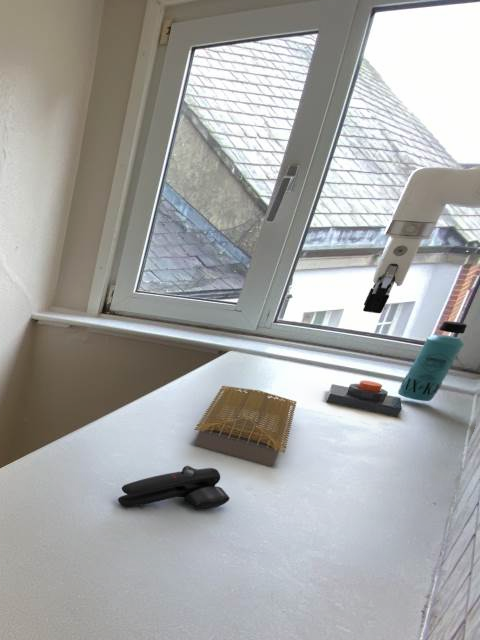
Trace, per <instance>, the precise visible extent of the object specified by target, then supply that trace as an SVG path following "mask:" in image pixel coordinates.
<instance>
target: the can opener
mask: <svg viewBox="0 0 480 640" xmlns="http://www.w3.org/2000/svg"><path fill="white" fill-rule="evenodd" d="M220 480H221V474H220V471H219V470H218V469H216V468H213V467H207V468H199V469H197V468H194V467H192V466H190V465H185V466H183V467H182V469H181V471H175V472H169V473H165V474H159V475H154V476H150V477H146V478H142V479H138V480H135V481H132V482H129V483H125V484H123V485H122V488H121V490H122V492H123V493H124V495H121V496H119V497H118V498H117V502H118V503H119V505H121V506H123V507H129V508H131V507H139V506H145V505H150V504H154V503H158V502H162V501H166V500H170V499H173V498H174V499H175V498H183V502H184V503H186V505H189V506H190V507H192V508H193V509H195V510H198V511H199V510H200V511H206V510H211V509H216V508H218V507H221V506H223V505H224V504H226V503H228V502H229V501H230V496H229V495H228V494H227V493H226V491H225V490H224V489H223V488H222V487H220V486H217V484H218V483H219V482H220Z"/></svg>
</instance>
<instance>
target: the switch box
mask: <svg viewBox="0 0 480 640" xmlns="http://www.w3.org/2000/svg"><path fill="white" fill-rule="evenodd" d="M358 385H359V383H350V384H349V385H348V386H344V385H339V384H335V383H332V384H331V386H330V387H329V390H328V392H327V396H326V400H325V403H329V404H333V405H339V406H343V407H347V408H353V409H357V410H361V411H367V412H371V413H375V414H380V415H384V416H389V417H394V418H398V417H399V415H400V413H401V411H402V410H403V406H402V400H401V397H398V396H393V395H390V394H389V392H388V391H387V390H385V389H383V388H381V389H380V391H379V392H371V391H366V390H363V389H359V388H358Z"/></svg>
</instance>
